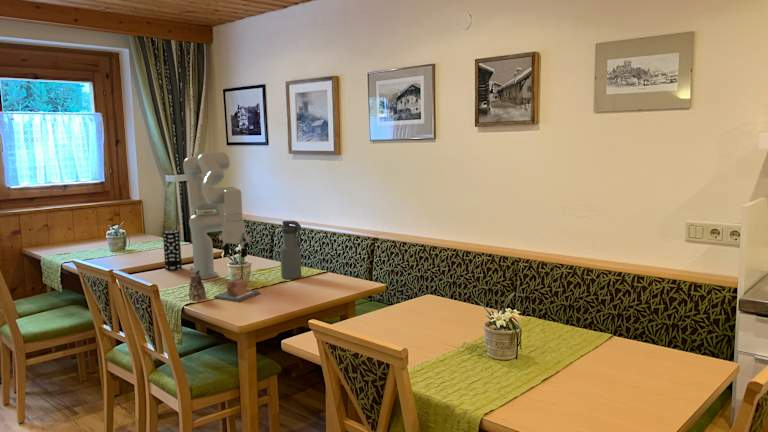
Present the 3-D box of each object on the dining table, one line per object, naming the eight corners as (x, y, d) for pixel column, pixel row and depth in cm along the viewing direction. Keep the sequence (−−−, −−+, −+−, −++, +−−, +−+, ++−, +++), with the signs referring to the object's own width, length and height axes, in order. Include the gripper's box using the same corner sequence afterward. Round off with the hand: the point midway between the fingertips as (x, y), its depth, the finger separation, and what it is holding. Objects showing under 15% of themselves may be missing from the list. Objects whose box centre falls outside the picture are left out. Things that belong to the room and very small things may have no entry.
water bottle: (304, 274, 302) (302, 219, 298) (299, 279, 292) (297, 223, 288) (284, 274, 303) (282, 219, 299) (279, 279, 293) (276, 223, 289)
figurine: (185, 299, 262) (183, 272, 260) (195, 295, 268) (194, 268, 266) (199, 301, 259) (197, 274, 257) (209, 296, 266) (207, 270, 264)
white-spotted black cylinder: (185, 268, 318) (183, 231, 315) (172, 271, 311) (169, 233, 308) (175, 266, 323) (172, 229, 319) (161, 269, 316) (159, 232, 312)
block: (227, 294, 265) (226, 281, 264) (236, 291, 270) (235, 278, 269) (238, 296, 262) (237, 282, 261) (247, 292, 268) (246, 279, 267)
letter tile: (214, 298, 263) (214, 295, 263) (235, 290, 276) (235, 287, 275) (239, 302, 257) (239, 299, 257) (260, 293, 269) (260, 291, 269)
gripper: (212, 217, 261) (214, 255, 264) (243, 219, 254) (245, 259, 256) (224, 215, 268) (226, 252, 271) (254, 217, 260) (256, 255, 263)
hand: (235, 255), depth 263 cm, fingers open, 9 cm apart
